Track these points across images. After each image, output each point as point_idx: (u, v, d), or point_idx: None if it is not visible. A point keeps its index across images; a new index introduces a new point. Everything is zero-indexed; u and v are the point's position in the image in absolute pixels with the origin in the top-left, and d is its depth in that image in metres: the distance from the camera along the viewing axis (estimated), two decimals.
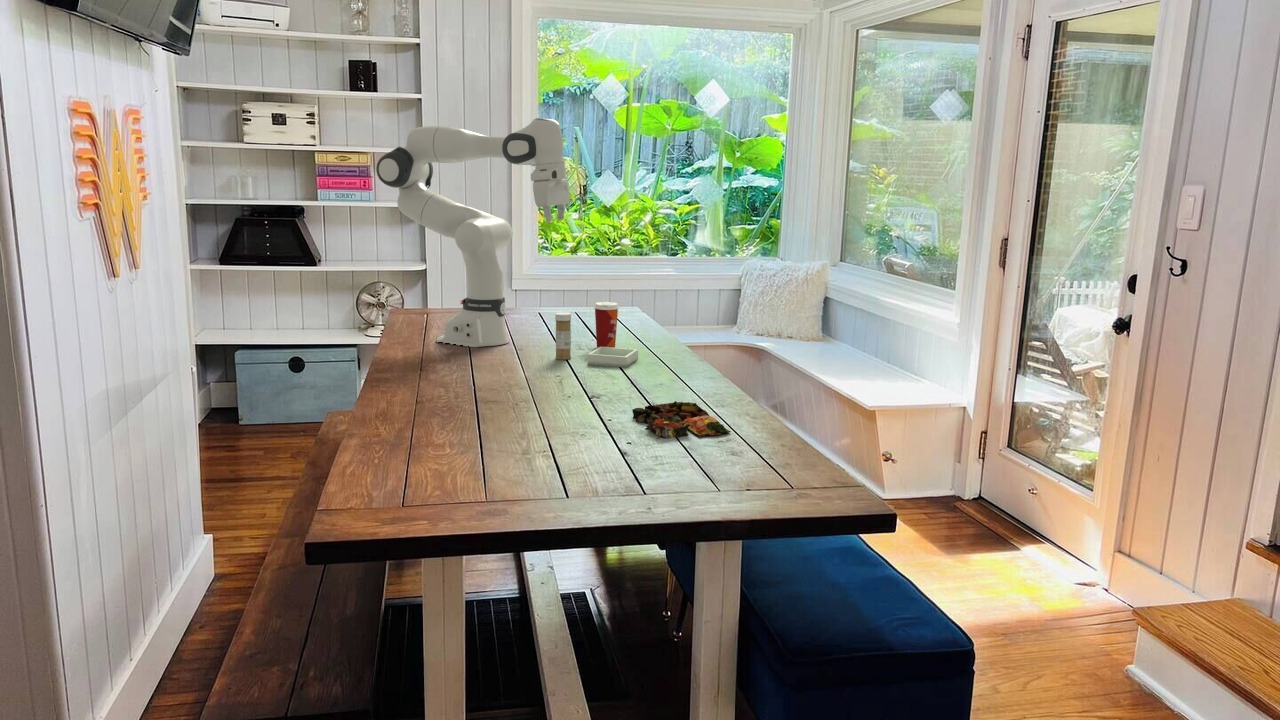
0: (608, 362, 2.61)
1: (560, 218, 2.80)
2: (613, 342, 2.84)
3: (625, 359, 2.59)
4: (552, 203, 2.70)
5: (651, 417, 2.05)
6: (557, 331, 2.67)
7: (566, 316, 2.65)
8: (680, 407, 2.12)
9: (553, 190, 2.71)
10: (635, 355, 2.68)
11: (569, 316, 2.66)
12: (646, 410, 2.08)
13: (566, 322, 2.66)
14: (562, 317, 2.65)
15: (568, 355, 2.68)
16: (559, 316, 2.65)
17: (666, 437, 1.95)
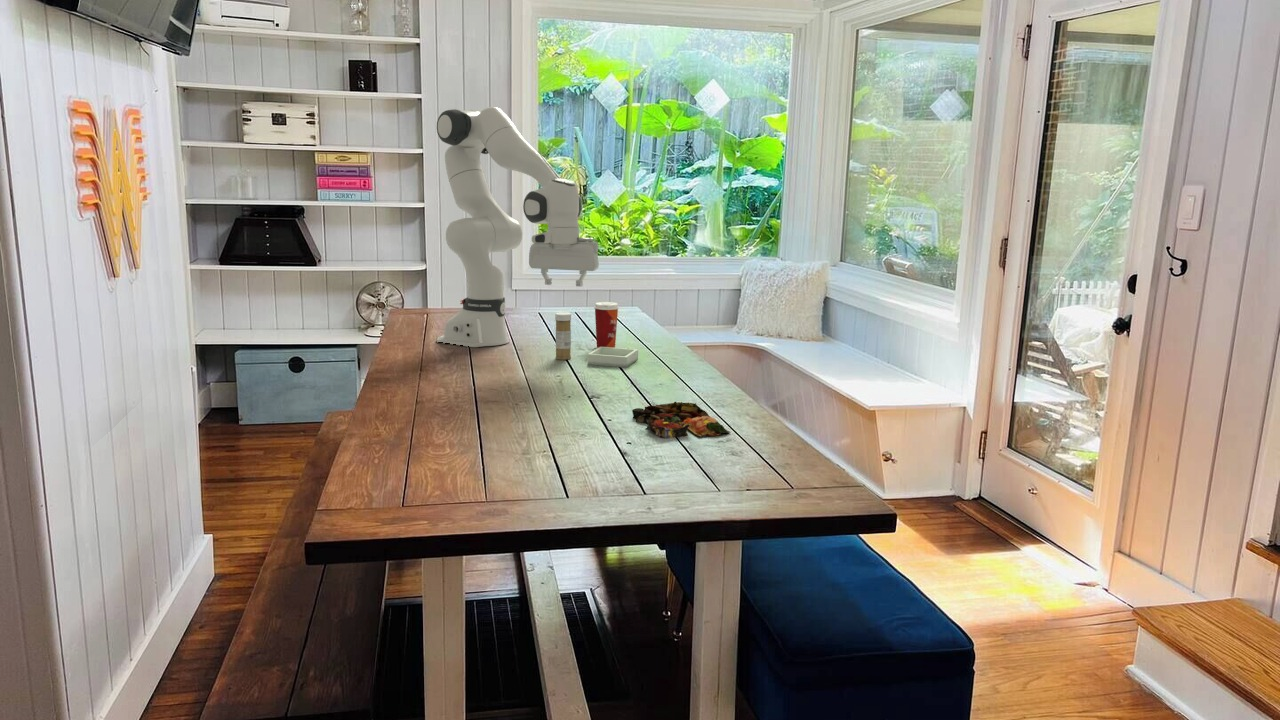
0: (608, 362, 2.61)
1: None
2: (613, 342, 2.84)
3: (625, 359, 2.59)
4: (543, 266, 2.64)
5: (651, 418, 2.05)
6: (557, 331, 2.67)
7: (566, 316, 2.65)
8: (680, 407, 2.12)
9: (550, 253, 2.63)
10: (635, 355, 2.68)
11: (569, 316, 2.66)
12: (646, 410, 2.08)
13: (566, 322, 2.66)
14: (562, 317, 2.65)
15: (568, 355, 2.68)
16: (559, 316, 2.65)
17: (665, 437, 1.95)
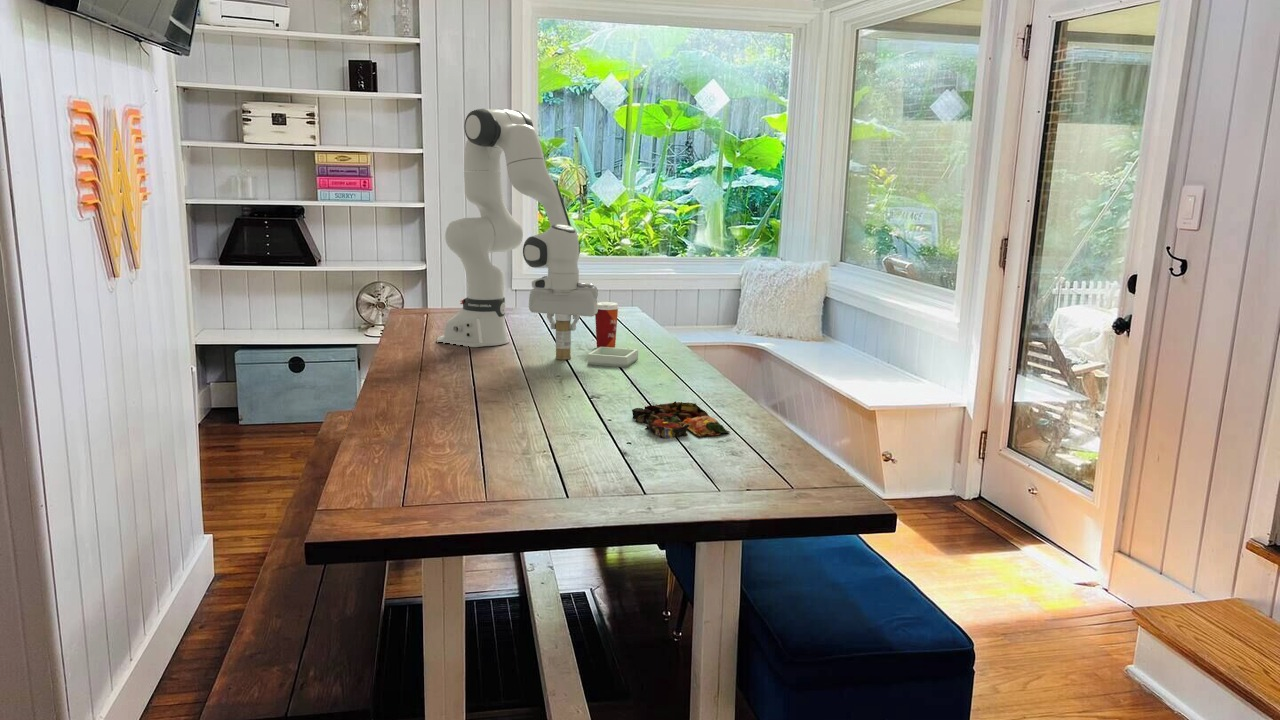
0: (608, 362, 2.61)
1: None
2: (613, 342, 2.84)
3: (625, 359, 2.59)
4: (543, 311, 2.67)
5: (650, 417, 2.05)
6: (557, 331, 2.67)
7: (566, 316, 2.65)
8: (679, 407, 2.12)
9: (550, 298, 2.65)
10: (635, 355, 2.68)
11: (569, 316, 2.66)
12: (646, 410, 2.08)
13: (566, 322, 2.66)
14: (562, 317, 2.65)
15: (568, 355, 2.68)
16: (559, 316, 2.65)
17: (665, 437, 1.95)
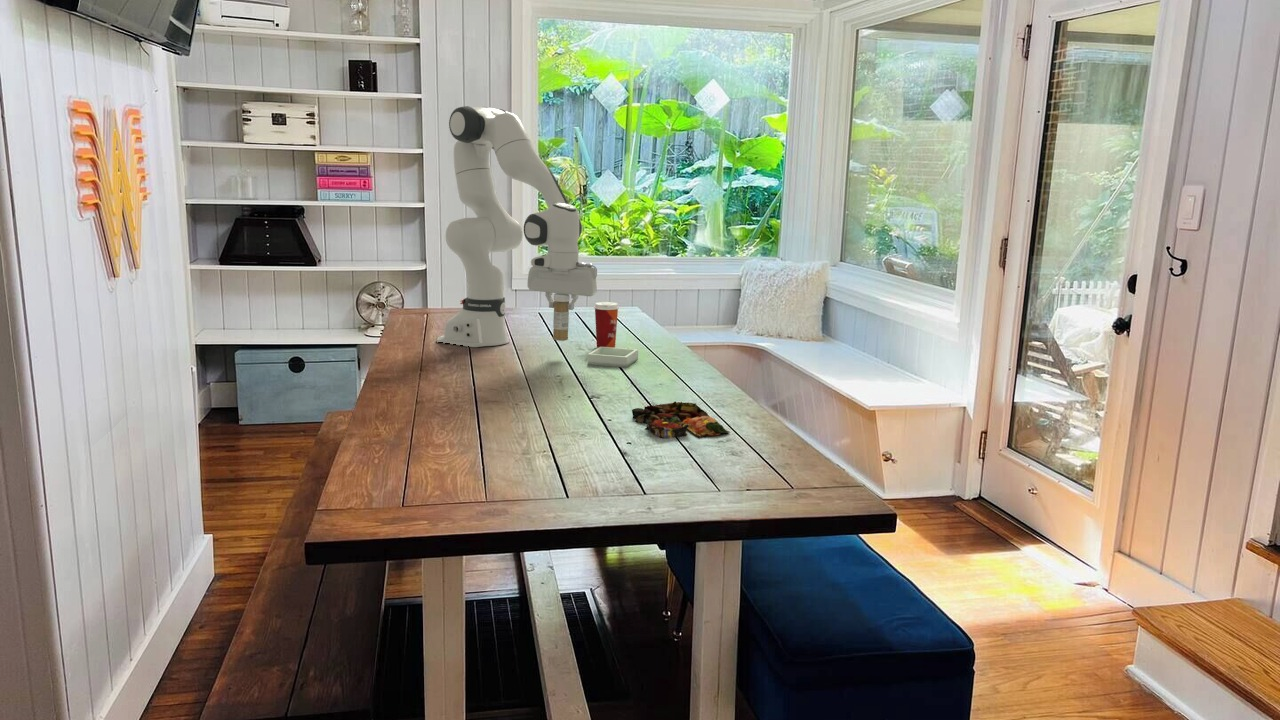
0: (608, 362, 2.61)
1: None
2: (613, 342, 2.84)
3: (625, 359, 2.59)
4: (541, 289, 2.66)
5: (650, 417, 2.05)
6: (555, 312, 2.66)
7: (564, 297, 2.64)
8: (679, 407, 2.12)
9: (549, 277, 2.64)
10: (635, 355, 2.68)
11: (567, 297, 2.65)
12: (645, 410, 2.08)
13: (564, 303, 2.65)
14: (560, 298, 2.64)
15: (565, 336, 2.68)
16: (557, 297, 2.64)
17: (665, 437, 1.95)
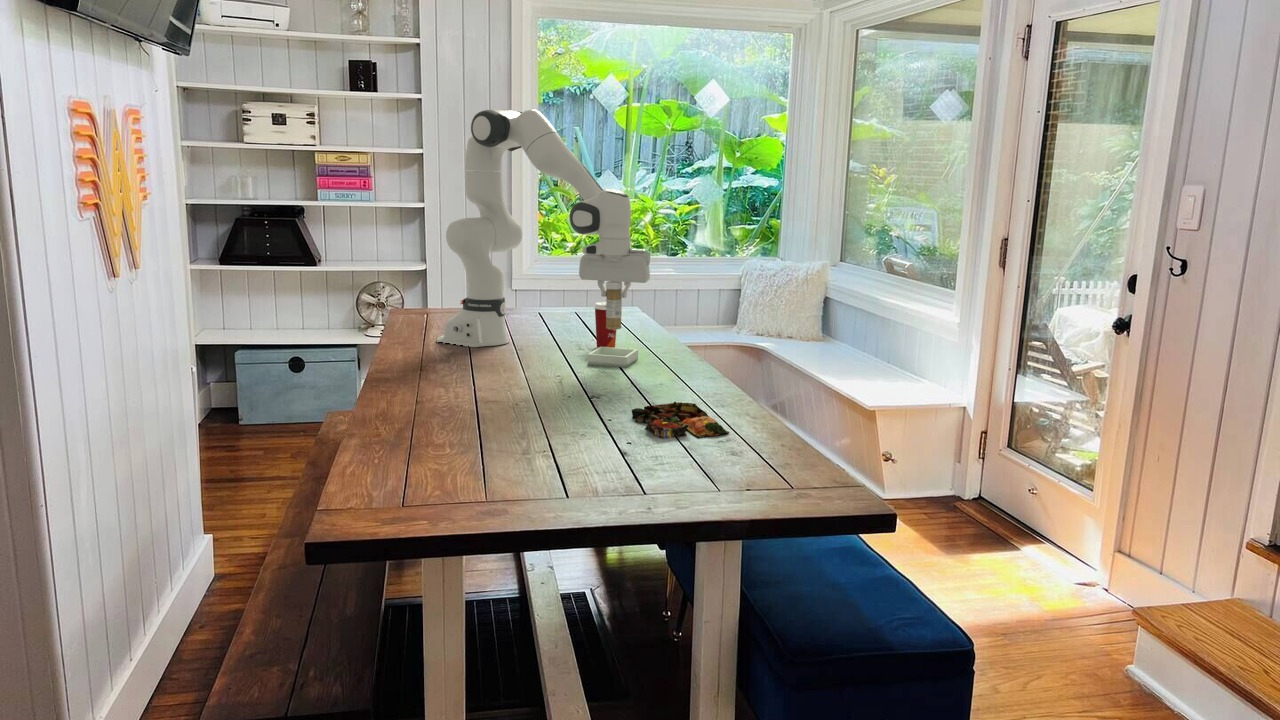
0: (608, 362, 2.61)
1: None
2: (613, 342, 2.84)
3: (625, 359, 2.59)
4: (593, 278, 2.61)
5: (650, 418, 2.05)
6: (608, 300, 2.61)
7: (617, 284, 2.60)
8: (679, 407, 2.12)
9: (601, 265, 2.60)
10: (635, 355, 2.68)
11: (620, 284, 2.61)
12: (645, 410, 2.08)
13: (617, 291, 2.60)
14: (613, 285, 2.60)
15: (619, 325, 2.63)
16: (610, 284, 2.60)
17: (664, 437, 1.95)
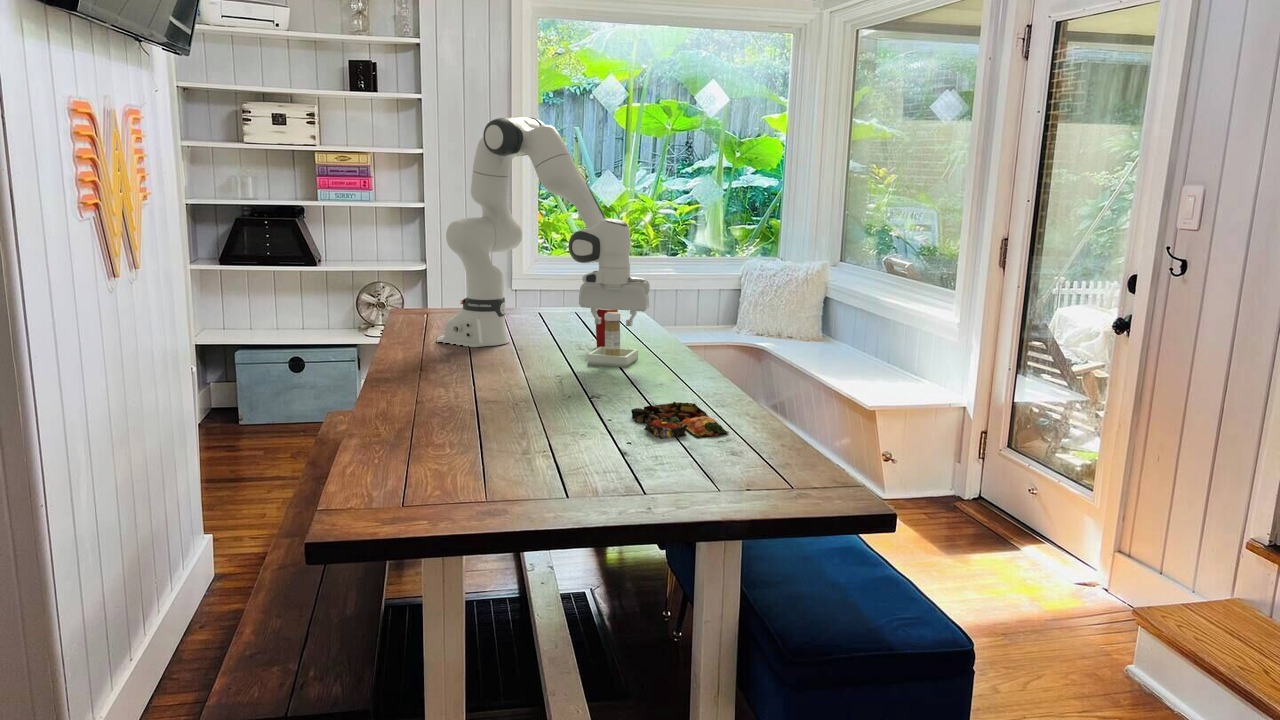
0: (608, 362, 2.61)
1: None
2: None
3: (625, 359, 2.59)
4: (593, 306, 2.63)
5: (649, 418, 2.05)
6: (606, 331, 2.63)
7: (616, 316, 2.62)
8: (679, 407, 2.12)
9: (600, 293, 2.62)
10: (635, 355, 2.68)
11: (619, 316, 2.63)
12: (645, 410, 2.08)
13: (616, 322, 2.62)
14: (612, 317, 2.62)
15: (618, 355, 2.65)
16: (609, 316, 2.62)
17: (663, 437, 1.95)
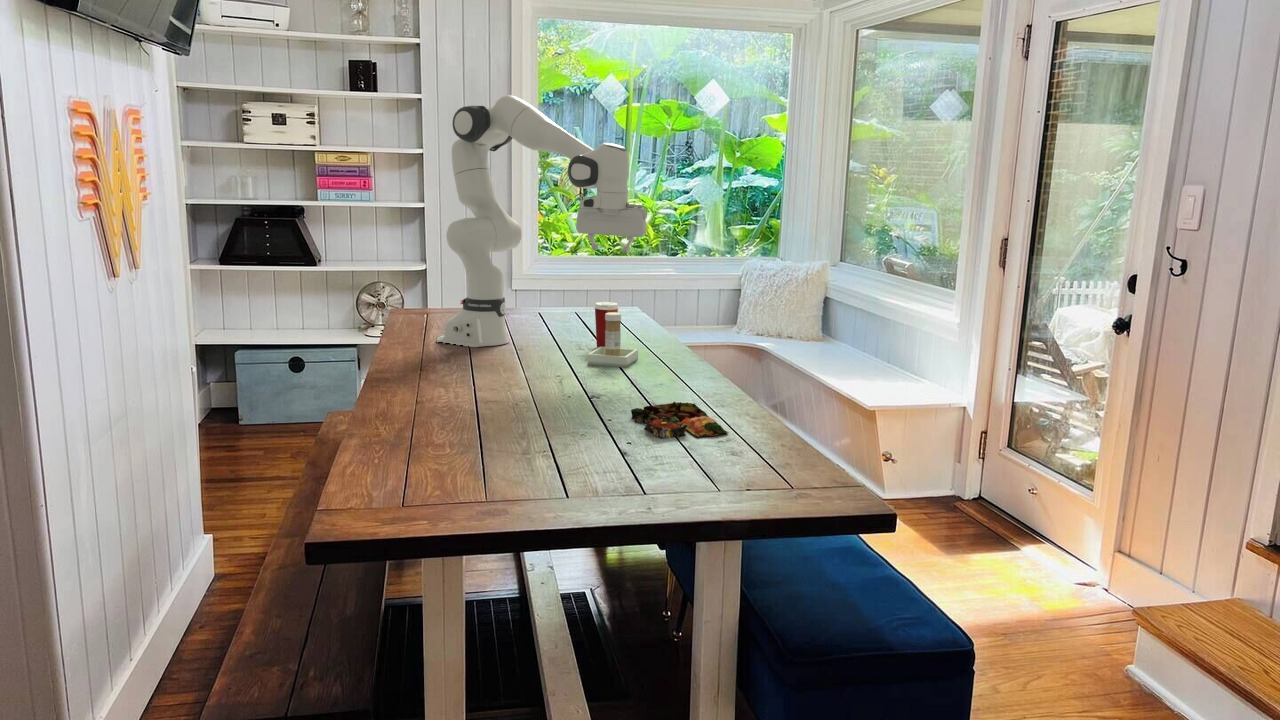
0: (608, 362, 2.61)
1: None
2: None
3: (625, 359, 2.59)
4: (590, 231, 2.63)
5: (649, 418, 2.05)
6: (607, 331, 2.63)
7: (616, 316, 2.62)
8: (679, 407, 2.12)
9: (598, 218, 2.62)
10: (635, 355, 2.68)
11: (619, 316, 2.63)
12: (644, 410, 2.08)
13: (616, 322, 2.62)
14: (612, 317, 2.62)
15: None
16: (609, 316, 2.62)
17: (663, 437, 1.95)
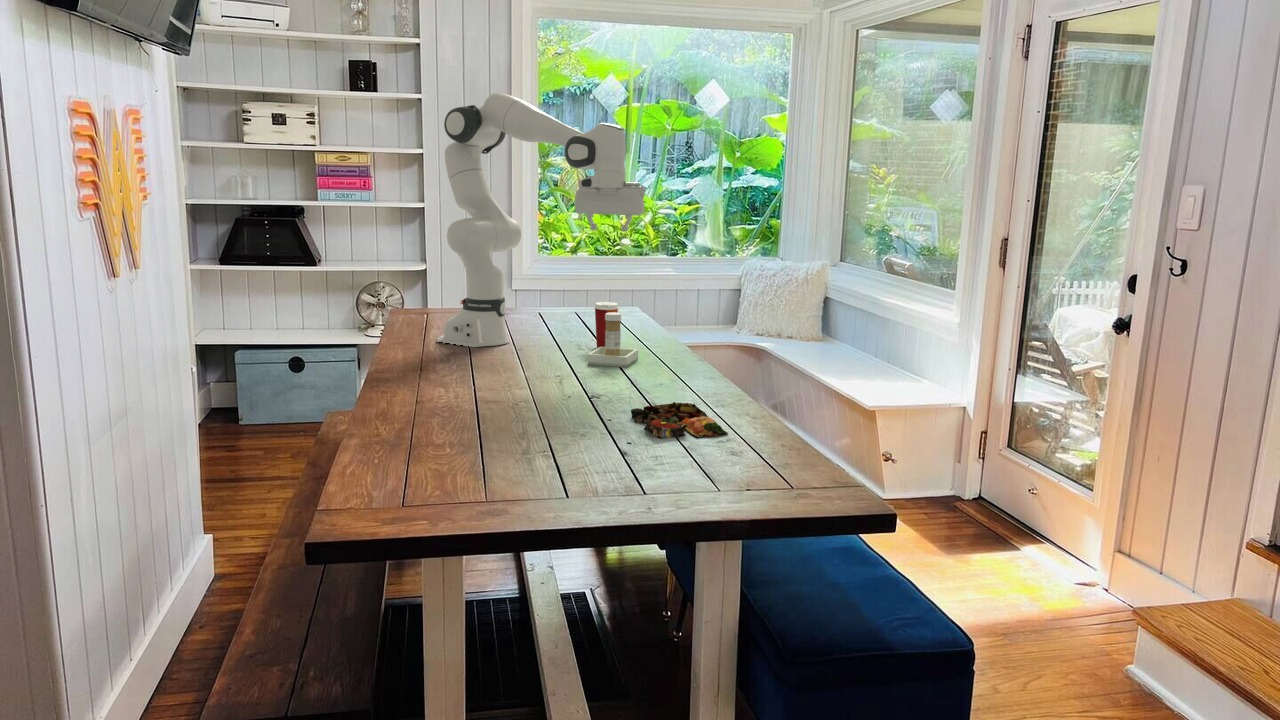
0: (608, 362, 2.61)
1: None
2: None
3: (625, 359, 2.59)
4: (589, 211, 2.65)
5: (649, 418, 2.05)
6: (607, 331, 2.63)
7: (616, 316, 2.62)
8: (678, 408, 2.12)
9: (596, 198, 2.64)
10: (635, 355, 2.68)
11: (619, 316, 2.63)
12: (644, 411, 2.08)
13: (616, 322, 2.63)
14: (612, 317, 2.62)
15: (618, 355, 2.65)
16: (609, 316, 2.62)
17: (663, 437, 1.95)
